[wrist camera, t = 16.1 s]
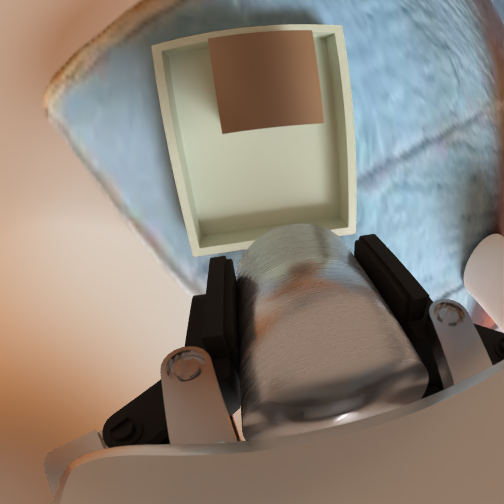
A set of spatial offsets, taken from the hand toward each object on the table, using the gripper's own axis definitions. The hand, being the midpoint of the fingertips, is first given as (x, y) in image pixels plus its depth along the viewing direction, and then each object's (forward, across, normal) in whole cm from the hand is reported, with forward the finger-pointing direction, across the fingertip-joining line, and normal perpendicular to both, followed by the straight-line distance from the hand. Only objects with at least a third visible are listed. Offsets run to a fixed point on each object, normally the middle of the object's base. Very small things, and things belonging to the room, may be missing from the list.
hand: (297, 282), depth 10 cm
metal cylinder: (0, 0, 0) cm, 0 cm away
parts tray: (+12, 0, -4) cm, 13 cm away
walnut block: (+12, 0, -8) cm, 14 cm away
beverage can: (+12, -26, +11) cm, 30 cm away
